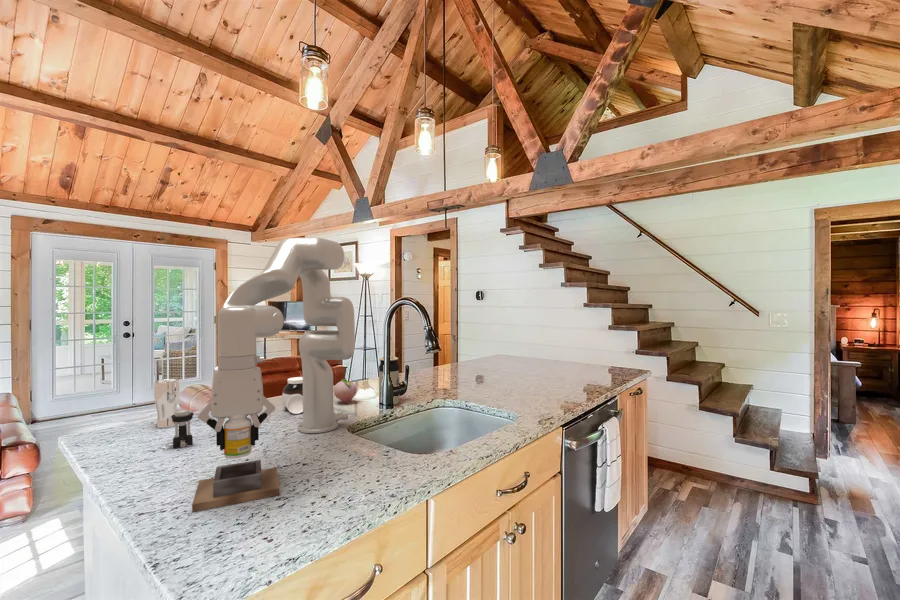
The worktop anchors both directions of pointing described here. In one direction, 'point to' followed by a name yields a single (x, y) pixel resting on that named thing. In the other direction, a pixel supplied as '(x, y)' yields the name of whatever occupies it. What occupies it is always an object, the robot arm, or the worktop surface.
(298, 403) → the spread jar
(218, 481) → the collar board
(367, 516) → the worktop surface
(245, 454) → the supplement bottle
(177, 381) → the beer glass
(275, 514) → the worktop surface
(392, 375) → the travel mug
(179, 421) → the push button
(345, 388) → the decorative fruit
